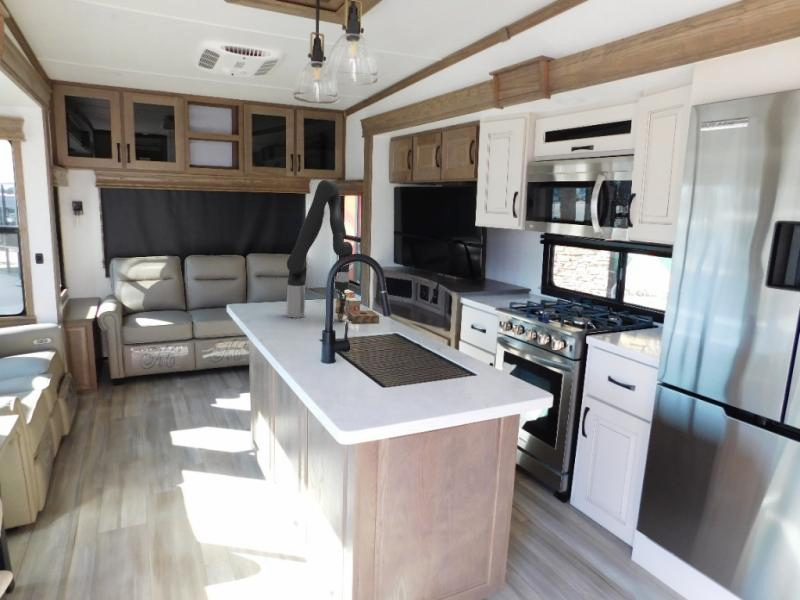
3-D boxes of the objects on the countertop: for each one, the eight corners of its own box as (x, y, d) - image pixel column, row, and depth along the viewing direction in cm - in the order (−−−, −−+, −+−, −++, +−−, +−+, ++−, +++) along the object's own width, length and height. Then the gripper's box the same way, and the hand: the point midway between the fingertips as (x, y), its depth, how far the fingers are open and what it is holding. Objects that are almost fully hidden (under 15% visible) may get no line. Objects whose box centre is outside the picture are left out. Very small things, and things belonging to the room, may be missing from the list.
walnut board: (352, 323, 284) (353, 316, 283) (347, 318, 297) (347, 310, 296) (378, 323, 288) (379, 315, 287) (372, 317, 301) (372, 310, 300)
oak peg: (336, 320, 285) (336, 301, 283) (334, 318, 290) (335, 299, 288) (346, 320, 286) (346, 301, 285) (344, 318, 291) (345, 299, 290)
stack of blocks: (359, 316, 302) (360, 294, 300) (349, 317, 299) (350, 295, 297) (346, 309, 321) (347, 288, 319) (336, 309, 318) (337, 288, 316)
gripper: (332, 278, 290) (331, 309, 293) (337, 282, 277) (335, 314, 280) (346, 278, 292) (344, 309, 295) (351, 282, 279) (350, 314, 282)
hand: (340, 311), depth 287 cm, fingers closed on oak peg, 5 cm apart
